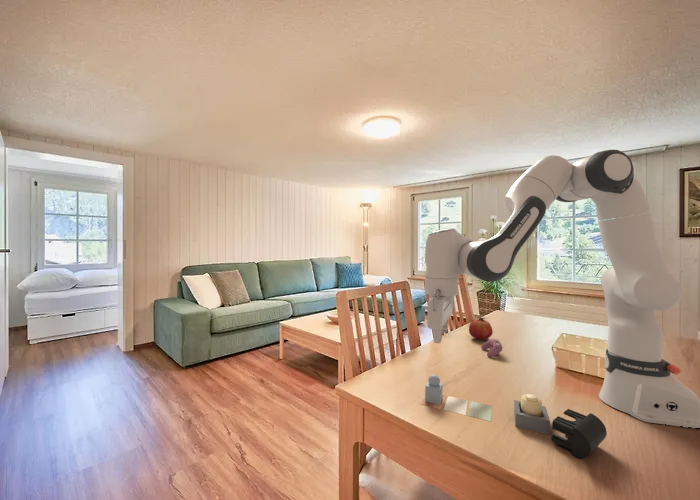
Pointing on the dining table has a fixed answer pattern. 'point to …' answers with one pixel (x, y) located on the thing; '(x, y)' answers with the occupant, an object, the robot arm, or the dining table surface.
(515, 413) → the box
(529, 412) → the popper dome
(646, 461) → the dining table surface
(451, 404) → the game board
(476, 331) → the fruit
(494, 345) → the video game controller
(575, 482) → the dining table surface
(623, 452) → the dining table surface
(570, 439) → the end cap
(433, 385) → the pawn
